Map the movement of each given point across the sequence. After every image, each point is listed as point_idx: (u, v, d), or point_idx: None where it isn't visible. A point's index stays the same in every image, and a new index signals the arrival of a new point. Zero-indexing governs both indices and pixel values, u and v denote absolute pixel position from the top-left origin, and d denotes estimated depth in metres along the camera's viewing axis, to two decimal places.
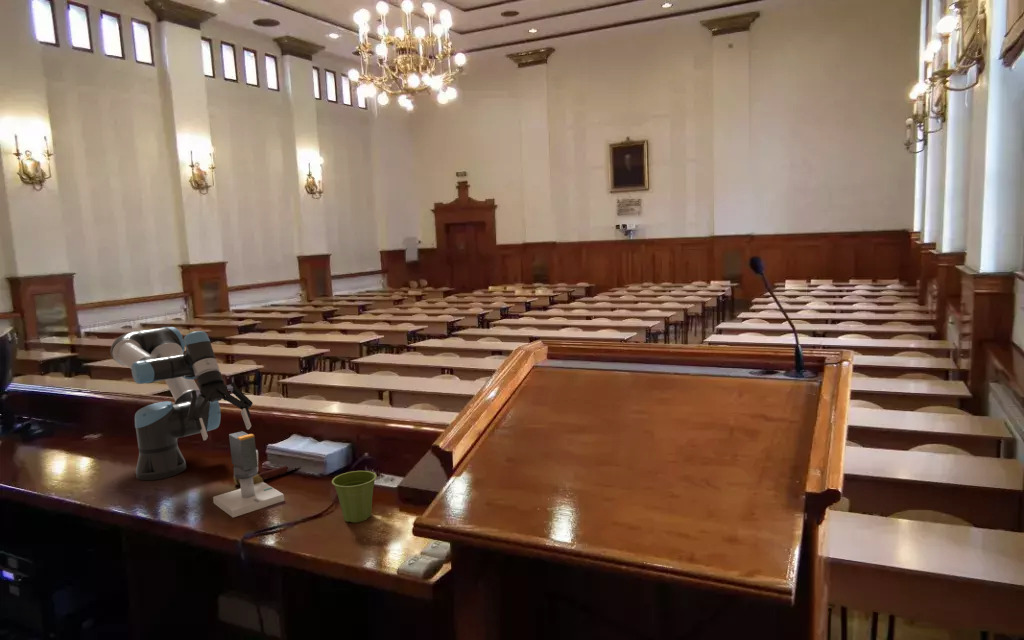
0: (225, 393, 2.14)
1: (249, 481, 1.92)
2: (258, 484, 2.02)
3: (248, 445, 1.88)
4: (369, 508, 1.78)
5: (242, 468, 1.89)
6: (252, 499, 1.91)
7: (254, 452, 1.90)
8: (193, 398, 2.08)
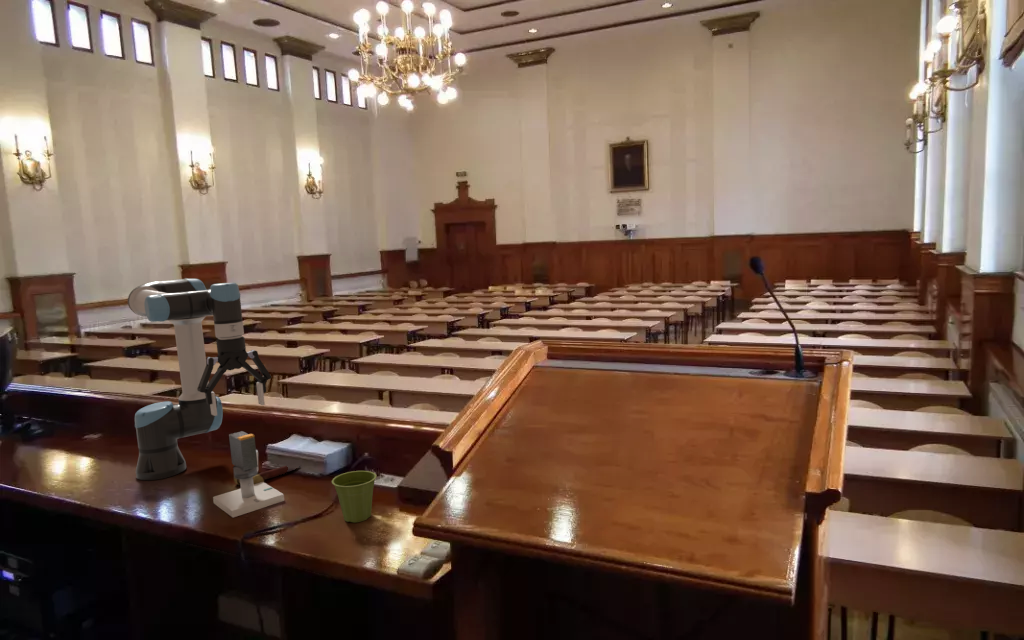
0: (245, 364, 1.89)
1: (249, 481, 1.92)
2: (258, 484, 2.02)
3: (248, 445, 1.88)
4: (369, 508, 1.78)
5: (242, 468, 1.89)
6: (252, 499, 1.91)
7: (254, 452, 1.90)
8: (209, 368, 1.83)
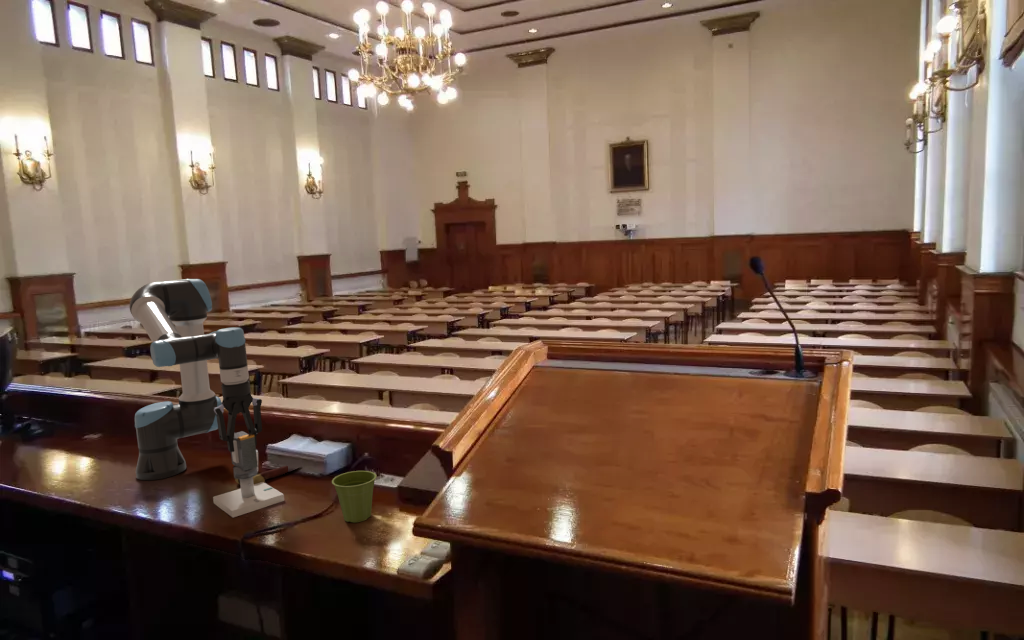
0: (246, 410, 1.90)
1: (249, 481, 1.92)
2: (258, 484, 2.02)
3: (248, 445, 1.88)
4: (369, 508, 1.78)
5: (242, 468, 1.89)
6: (252, 499, 1.91)
7: (254, 452, 1.90)
8: (220, 418, 1.86)
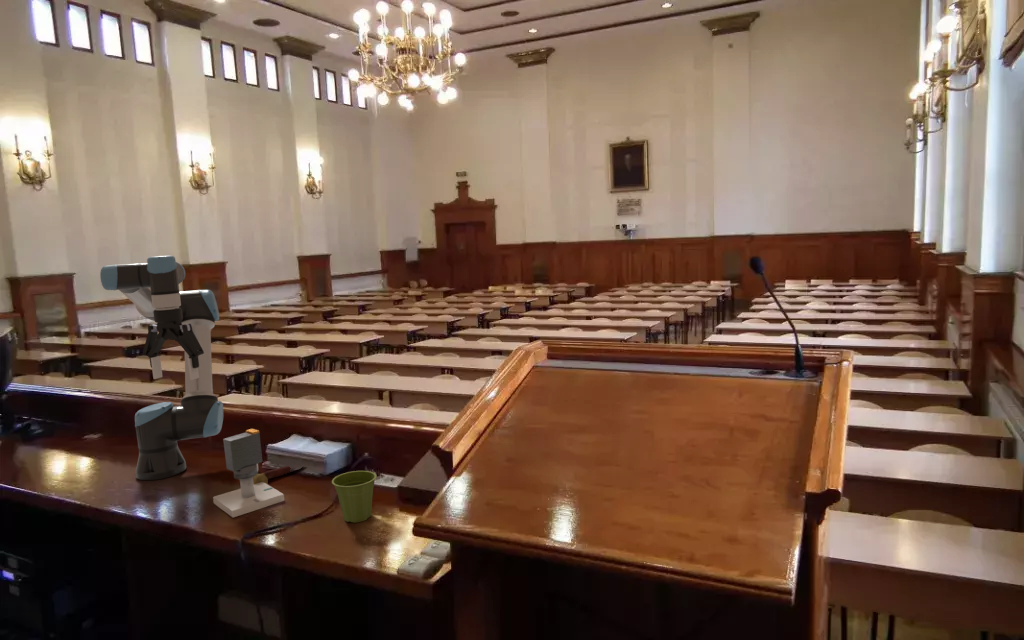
0: None
1: (249, 481, 1.92)
2: (258, 484, 2.02)
3: None
4: (369, 508, 1.78)
5: (259, 461, 1.94)
6: (252, 499, 1.91)
7: None
8: None
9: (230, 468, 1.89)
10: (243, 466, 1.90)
